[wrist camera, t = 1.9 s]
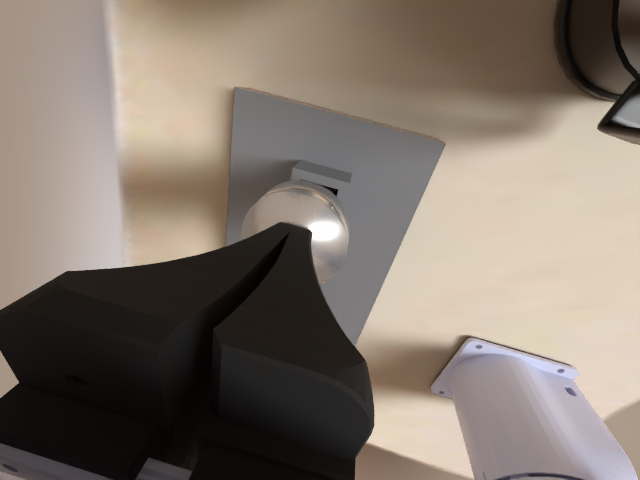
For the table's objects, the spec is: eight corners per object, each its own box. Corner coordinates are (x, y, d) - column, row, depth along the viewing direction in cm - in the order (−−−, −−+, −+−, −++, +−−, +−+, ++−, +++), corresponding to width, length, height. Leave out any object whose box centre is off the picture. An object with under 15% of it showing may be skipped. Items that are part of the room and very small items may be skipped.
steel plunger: (364, 172, 15) (361, 211, 10) (343, 239, 17) (331, 299, 12) (287, 150, 15) (246, 178, 10) (275, 221, 17) (237, 271, 12)
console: (437, 138, 16) (456, 150, 13) (353, 335, 25) (350, 373, 22) (248, 87, 16) (216, 85, 13) (231, 299, 25) (210, 331, 22)
